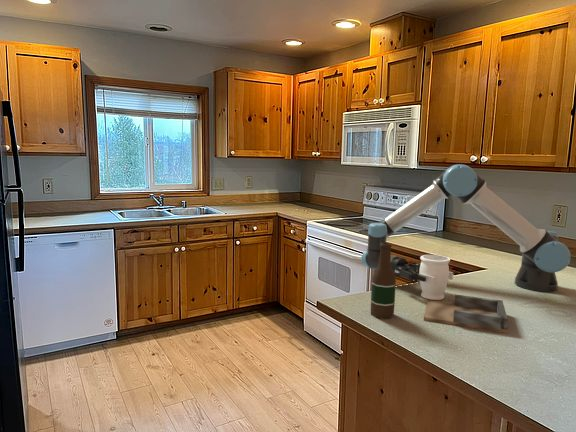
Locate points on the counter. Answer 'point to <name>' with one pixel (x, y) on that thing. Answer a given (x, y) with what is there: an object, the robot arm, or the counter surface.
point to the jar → (434, 268)
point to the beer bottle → (383, 285)
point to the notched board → (448, 314)
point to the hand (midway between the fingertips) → (443, 278)
